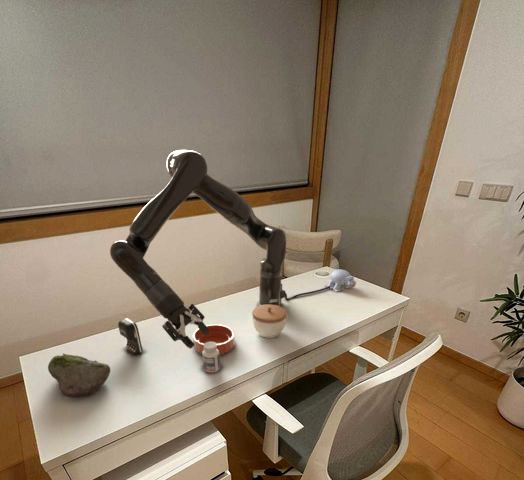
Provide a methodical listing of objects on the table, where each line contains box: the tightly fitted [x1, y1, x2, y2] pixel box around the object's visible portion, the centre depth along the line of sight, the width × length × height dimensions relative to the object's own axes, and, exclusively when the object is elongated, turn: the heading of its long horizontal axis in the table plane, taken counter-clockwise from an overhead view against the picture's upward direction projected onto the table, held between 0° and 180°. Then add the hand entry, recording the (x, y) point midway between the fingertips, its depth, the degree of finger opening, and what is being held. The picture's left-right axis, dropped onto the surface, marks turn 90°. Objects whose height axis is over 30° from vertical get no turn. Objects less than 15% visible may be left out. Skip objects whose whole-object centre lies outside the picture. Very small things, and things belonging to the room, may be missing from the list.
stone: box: [47, 353, 111, 398], centre depth 94 cm, size 19×14×10 cm
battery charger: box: [117, 317, 144, 355], centre depth 107 cm, size 7×4×11 cm, turn 49°
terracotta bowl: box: [192, 324, 236, 355], centre depth 113 cm, size 14×14×4 cm
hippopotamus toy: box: [326, 265, 357, 292], centre depth 157 cm, size 11×15×10 cm
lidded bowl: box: [251, 304, 288, 339], centre depth 119 cm, size 13×13×11 cm
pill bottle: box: [201, 342, 221, 373], centre depth 101 cm, size 5×5×9 cm
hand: (200, 340), depth 99 cm, fingers open, 8 cm apart
